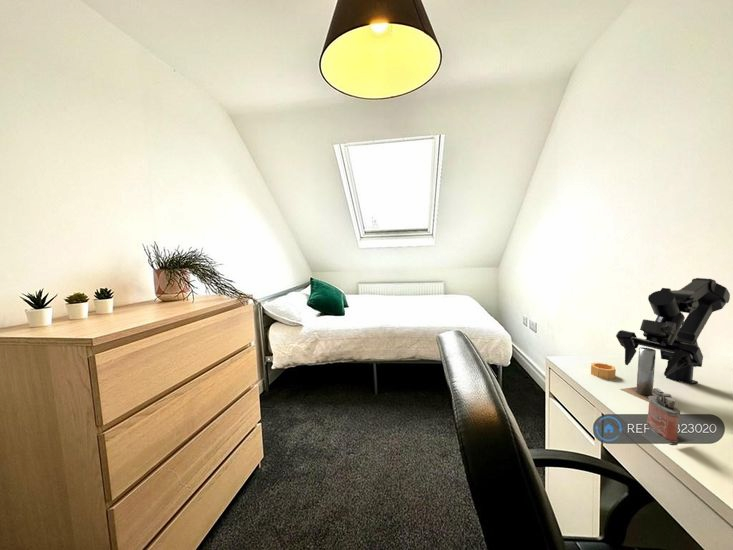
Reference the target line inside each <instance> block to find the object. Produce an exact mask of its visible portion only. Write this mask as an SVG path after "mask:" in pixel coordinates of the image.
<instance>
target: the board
mask: <svg viewBox="0 0 733 550" xmlns="http://www.w3.org/2000/svg"><path fill="white" fill-rule="evenodd" d="M636 388H637V386H634V387H626V388H620V389H619V390H620V391H623V392H625V393H627V394H628V395H631V396H634V397H637V398H638V399H640V400H643V401H645V402H647V403H649V400H648V396H643V395H640V394H638V393H636ZM653 396H656V395H655V394H653Z"/></svg>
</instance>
